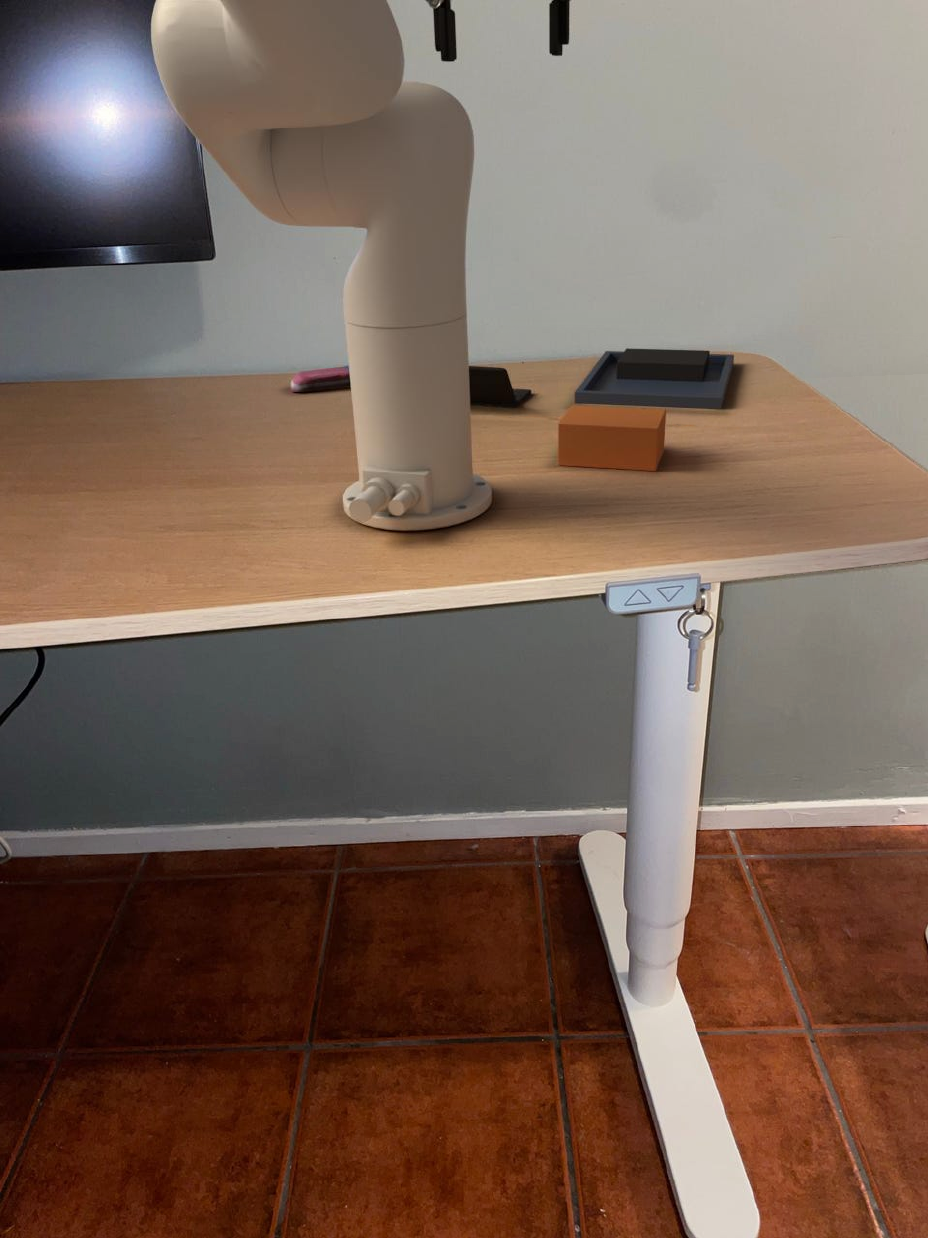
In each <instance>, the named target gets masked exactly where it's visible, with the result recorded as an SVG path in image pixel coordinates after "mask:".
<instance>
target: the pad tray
mask: <svg viewBox="0 0 928 1238" xmlns="http://www.w3.org/2000/svg"><path fill="white" fill-rule="evenodd" d="M623 353H624V351H622V350H621V351H618V350H617V351H616V350H606V351H604V353H603V354H602V355H601V357H600V358H599V359H598V360H597V362H596V363H595V364H594V366H593V368H592V369H591V370H590V371H589V373H588V374H587V375H586V377H585V378H584V380H583V381H582V382H581V383H580V385H579V386H578V387H577V388H576V390H575V391H574V404H581V405H605V406H627V407H628V406H629V407H651V408H652V407H653V408H673V409H674V408H677V409H699V410H722V409H723V405H724V400H725V397H726V393H727V389H728V386H729V382H730V379H731V374H732V371H733V367H734V361H735V355H734V354H728V353H727V354H725V353H709V367H708V370H707V372H706V375H705V378H704V381H703V382H693V381H665V380H637V379H617V378H616V375H617V361H618V360H619V358H620V357H621V355H622V354H623Z"/></svg>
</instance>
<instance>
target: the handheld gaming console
mask: <svg viewBox="0 0 928 1238" xmlns="http://www.w3.org/2000/svg"><path fill="white" fill-rule="evenodd" d="M469 388H470V406H475V407H477V406H478V407H492V408H505V409H517V407H519V406H520V405H522V404H523V403H524V402H525V401H526V400H527V399H528V398H529V397H531V396H532V390H531V389H530V388H529V389H527V388H514V387H513V386H512V382H511V379H510V376H509V373H508V369H506V368H505V367H499V366H498V367H497V366H496V367H495V366H481V365H480V366H477V365H469Z"/></svg>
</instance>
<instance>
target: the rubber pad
mask: <svg viewBox="0 0 928 1238" xmlns="http://www.w3.org/2000/svg"><path fill="white" fill-rule="evenodd" d="M623 352H624V353H623V354H622V355H621V357H620V358H619V360H618V361H617V375H616V378H617V379H637V380H665V381H693V382H703V381H704V378H705V375H706V372H707V370H708V367H709V354H711V353H710V350H700V349H698V350H697V349H661V348H629V347H628V348H627V347H626V348H625V350H624V351H623Z"/></svg>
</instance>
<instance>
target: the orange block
mask: <svg viewBox="0 0 928 1238" xmlns="http://www.w3.org/2000/svg"><path fill="white" fill-rule="evenodd" d="M666 421H667V409H661V408H658V409H657V408H637V407H614V406H594V405H593V406H590V405H589V406H588V405H570V407H569V408H568V409H567V411H566V413H564V415H563V417H562V418H561V419H560V420H559V422H558V424H557V465H558V466H562V467H563V466H565V467H579V468H580V467H581V468H596V469H598V468H599V469H613V470H614V469H615V470H630V471H645V472H646V471H648V472H656V471H657V469H658V467H659V464H660V462H661V459H662V456H663V454H664V451H665V439H666V423H667V422H666Z"/></svg>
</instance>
